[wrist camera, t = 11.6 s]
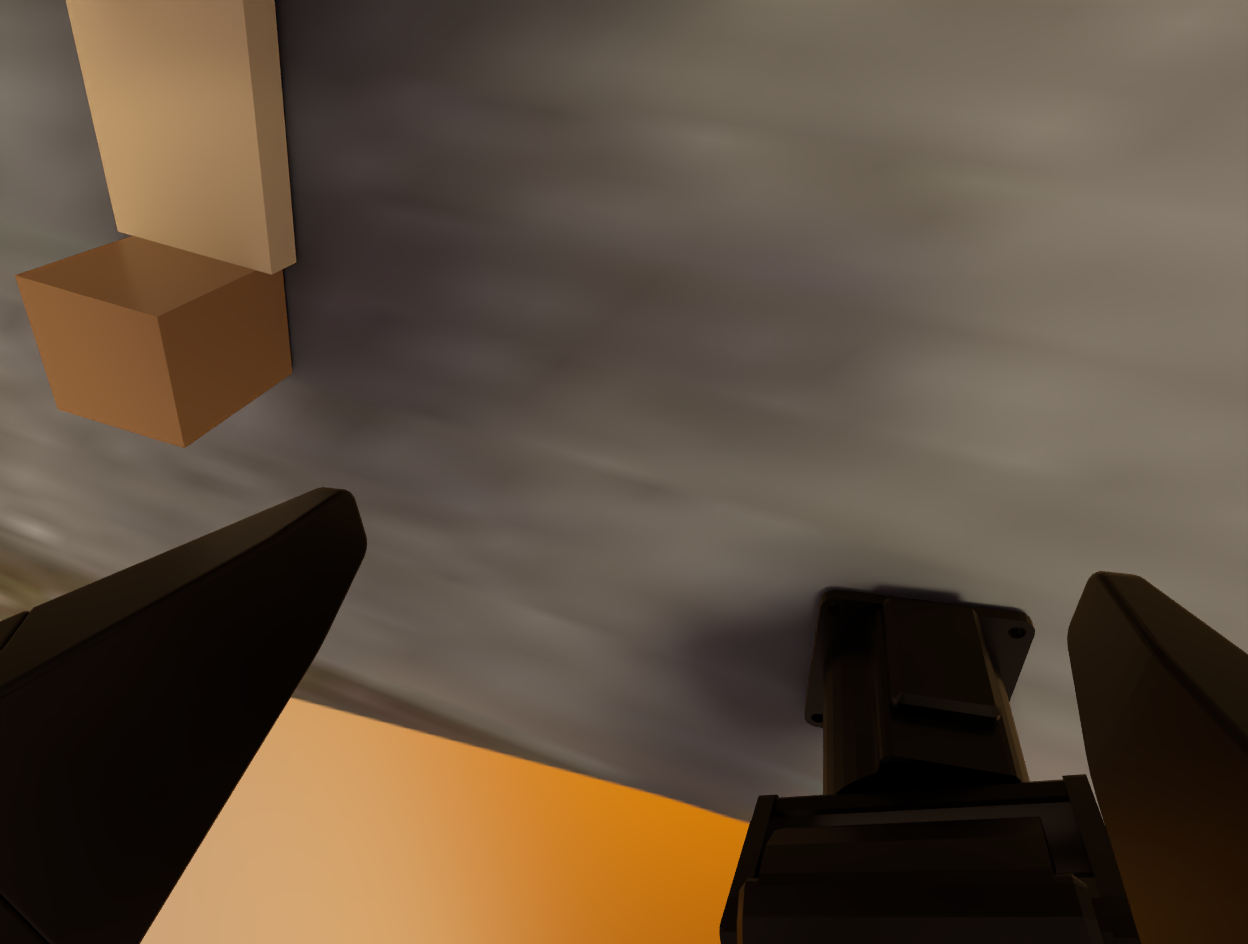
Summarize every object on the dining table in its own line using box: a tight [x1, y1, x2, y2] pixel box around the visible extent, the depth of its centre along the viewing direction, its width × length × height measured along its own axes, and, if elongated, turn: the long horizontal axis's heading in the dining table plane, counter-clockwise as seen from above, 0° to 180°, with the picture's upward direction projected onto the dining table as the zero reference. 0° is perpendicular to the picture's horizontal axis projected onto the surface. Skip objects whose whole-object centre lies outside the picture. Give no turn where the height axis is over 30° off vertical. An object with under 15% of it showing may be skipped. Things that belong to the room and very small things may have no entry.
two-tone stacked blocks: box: [15, 0, 296, 448], centre depth 18 cm, size 16×5×5 cm, turn 169°
